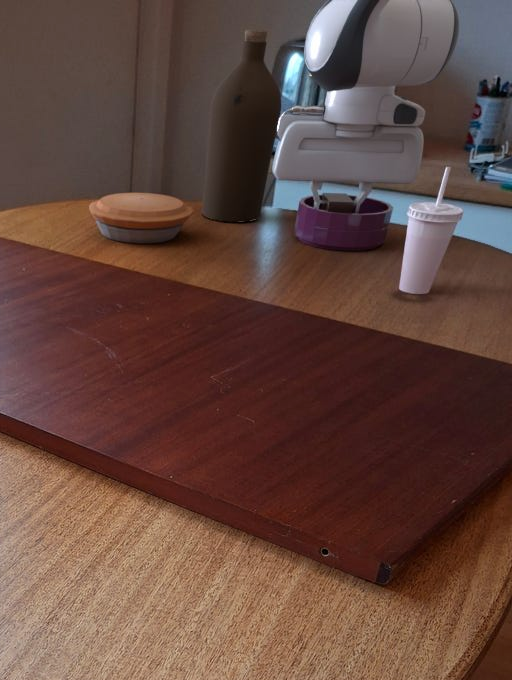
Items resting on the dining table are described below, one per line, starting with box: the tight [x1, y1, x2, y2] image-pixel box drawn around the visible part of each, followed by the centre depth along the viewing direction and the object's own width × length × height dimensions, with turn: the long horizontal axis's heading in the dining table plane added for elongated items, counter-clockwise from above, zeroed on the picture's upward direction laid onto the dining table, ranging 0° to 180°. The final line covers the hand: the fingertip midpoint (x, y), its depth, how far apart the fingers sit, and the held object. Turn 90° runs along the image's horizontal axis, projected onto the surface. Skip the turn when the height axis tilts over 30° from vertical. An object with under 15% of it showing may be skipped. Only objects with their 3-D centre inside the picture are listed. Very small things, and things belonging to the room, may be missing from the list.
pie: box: [88, 192, 194, 245], centre depth 131 cm, size 15×16×5 cm
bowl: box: [293, 194, 394, 252], centre depth 130 cm, size 13×13×5 cm
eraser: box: [321, 192, 354, 214], centre depth 130 cm, size 6×4×4 cm, turn 175°
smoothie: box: [398, 166, 464, 295], centre depth 108 cm, size 6×6×14 cm
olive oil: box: [201, 29, 282, 224], centre depth 135 cm, size 11×11×25 cm
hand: (334, 215), depth 130 cm, fingers closed on eraser, 3 cm apart
